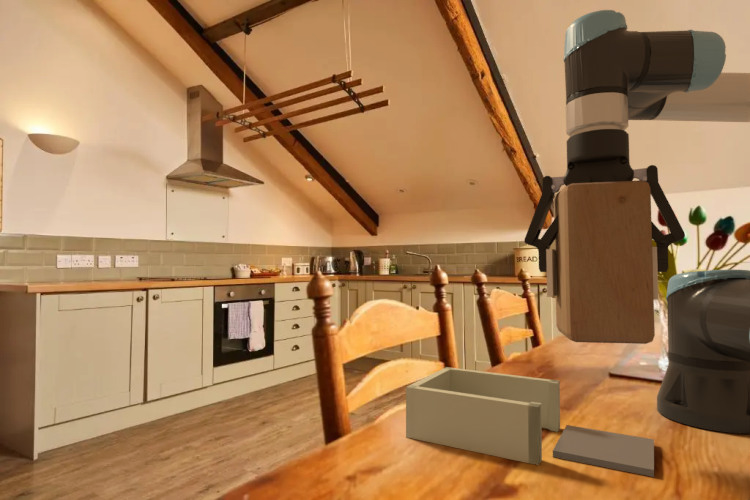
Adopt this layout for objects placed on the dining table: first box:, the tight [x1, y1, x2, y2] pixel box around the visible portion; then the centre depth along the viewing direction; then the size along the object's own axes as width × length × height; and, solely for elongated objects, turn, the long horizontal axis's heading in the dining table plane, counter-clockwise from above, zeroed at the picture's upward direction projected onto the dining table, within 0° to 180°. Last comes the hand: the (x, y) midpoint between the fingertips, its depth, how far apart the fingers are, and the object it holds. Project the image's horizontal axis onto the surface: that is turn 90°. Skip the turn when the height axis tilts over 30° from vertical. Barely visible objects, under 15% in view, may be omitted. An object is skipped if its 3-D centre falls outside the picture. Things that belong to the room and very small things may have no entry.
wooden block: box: [553, 179, 656, 345], centre depth 62 cm, size 10×10×20 cm
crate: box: [405, 366, 561, 466], centre depth 68 cm, size 18×15×7 cm
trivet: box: [552, 424, 655, 478], centre depth 61 cm, size 11×11×1 cm
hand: (600, 297), depth 62 cm, fingers closed on wooden block, 12 cm apart
